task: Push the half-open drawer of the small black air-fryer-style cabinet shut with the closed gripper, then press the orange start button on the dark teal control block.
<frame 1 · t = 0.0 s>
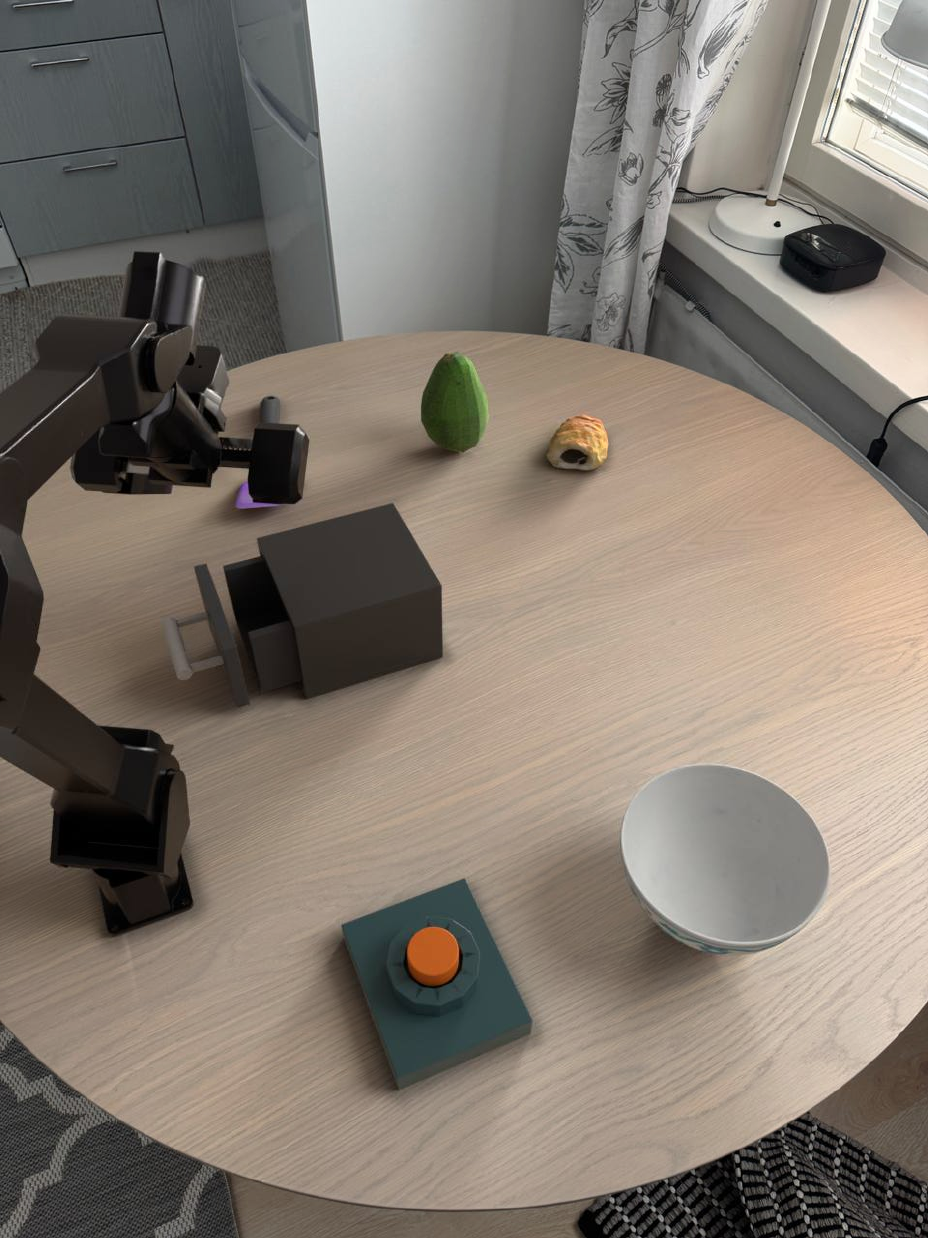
hand: (220, 491, 89), 15 cm above the table, tool tilted 35°, fingers open, 9 cm apart
start button: (433, 956, 70), point 4 cm above the table, slide at 0.1 cm
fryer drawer: (259, 624, 92), point 5 cm above the table, slide at 5.0 cm
fryer: (354, 633, 98), on the table
avocado: (454, 447, 120), on the table
spatula: (271, 459, 118), on the table
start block: (434, 984, 73), on the table
chinaware: (705, 902, 78), on the table
pastry: (577, 454, 119), on the table
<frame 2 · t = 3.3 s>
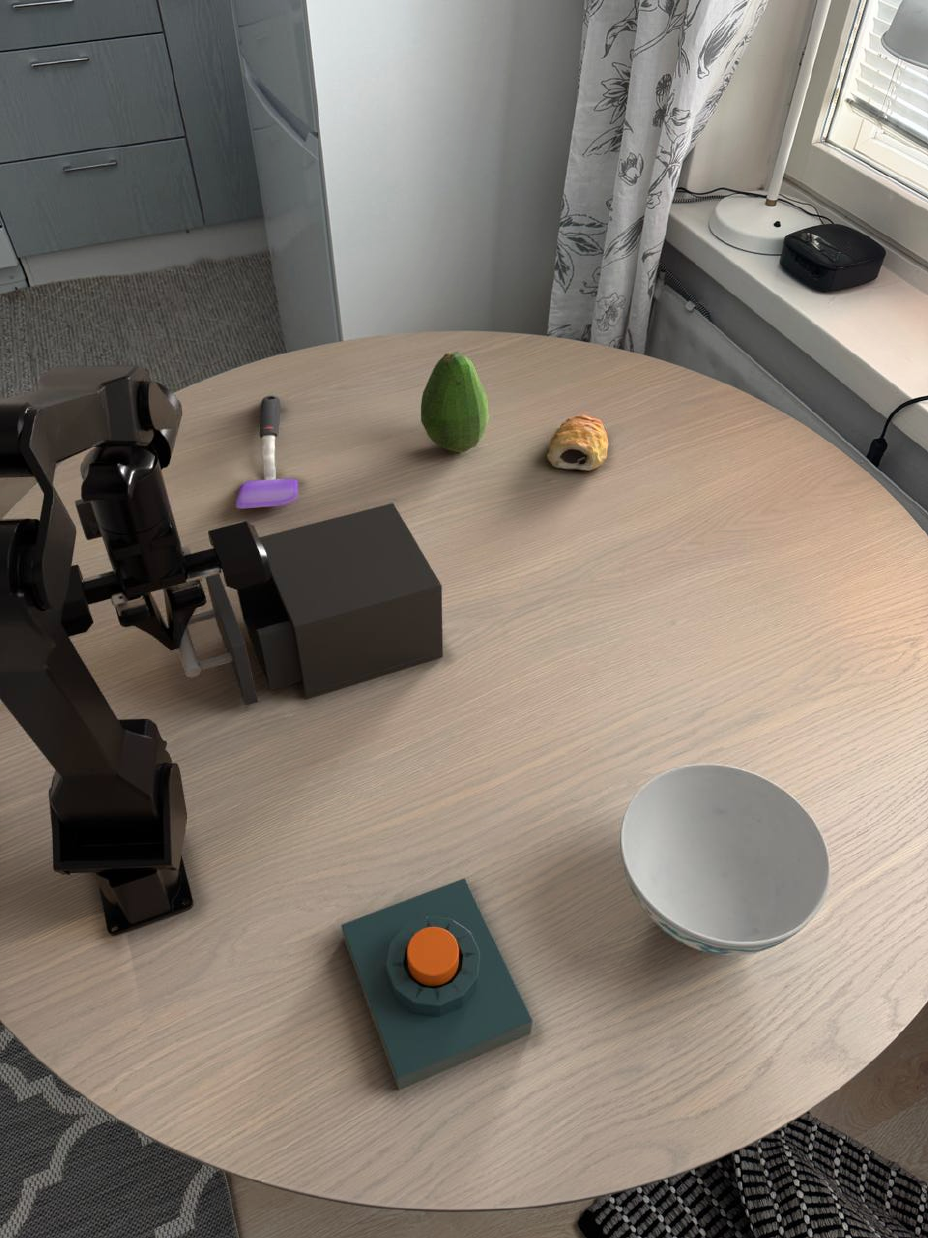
hand: (173, 646, 89), 5 cm above the table, tool pointing down, fingers closed
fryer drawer: (267, 621, 92), point 5 cm above the table, slide at 4.2 cm, touching gripper
everything else where it was.
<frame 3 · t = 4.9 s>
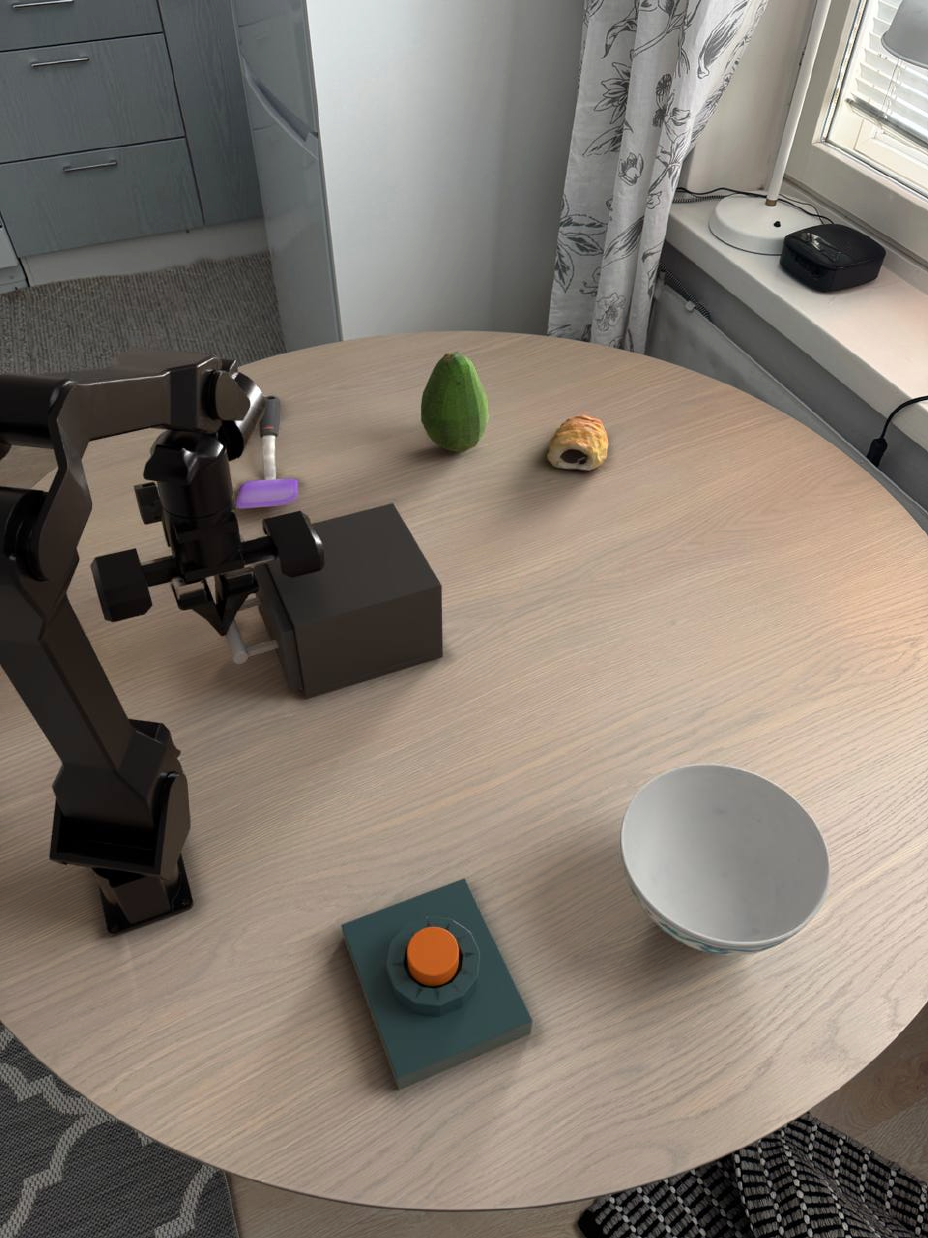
hand: (222, 632, 91), 5 cm above the table, tool pointing down, fingers closed, pressing on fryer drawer
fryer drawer: (311, 609, 93), point 5 cm above the table, slide at 0.0 cm, touching fryer, gripper
everything else where it was.
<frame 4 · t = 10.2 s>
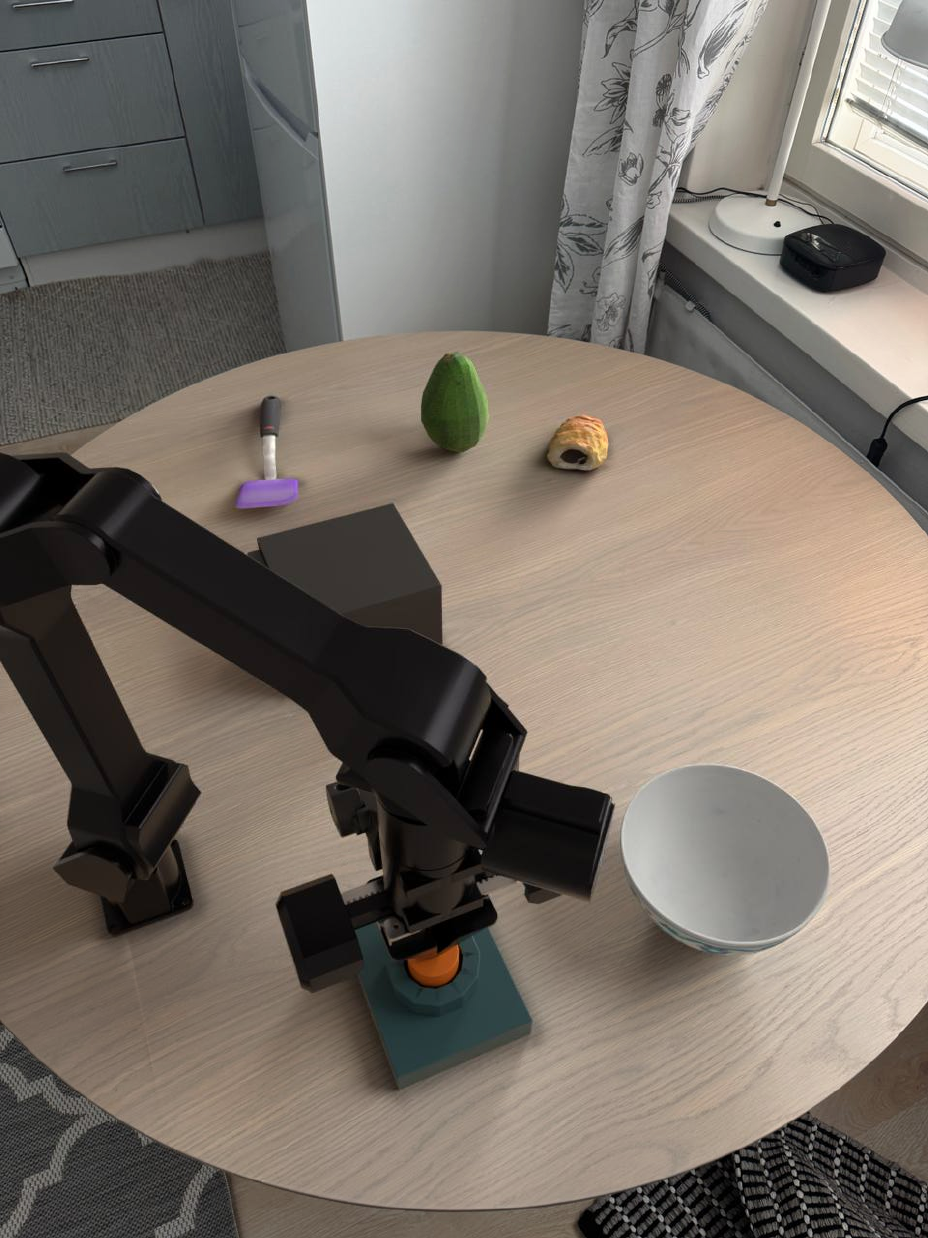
hand: (432, 951, 69), 5 cm above the table, tool pointing down, fingers closed, pressing on start button
start button: (433, 957, 70), point 4 cm above the table, slide at -0.1 cm, touching gripper
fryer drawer: (311, 609, 93), point 5 cm above the table, slide at 0.0 cm
everything else where it was.
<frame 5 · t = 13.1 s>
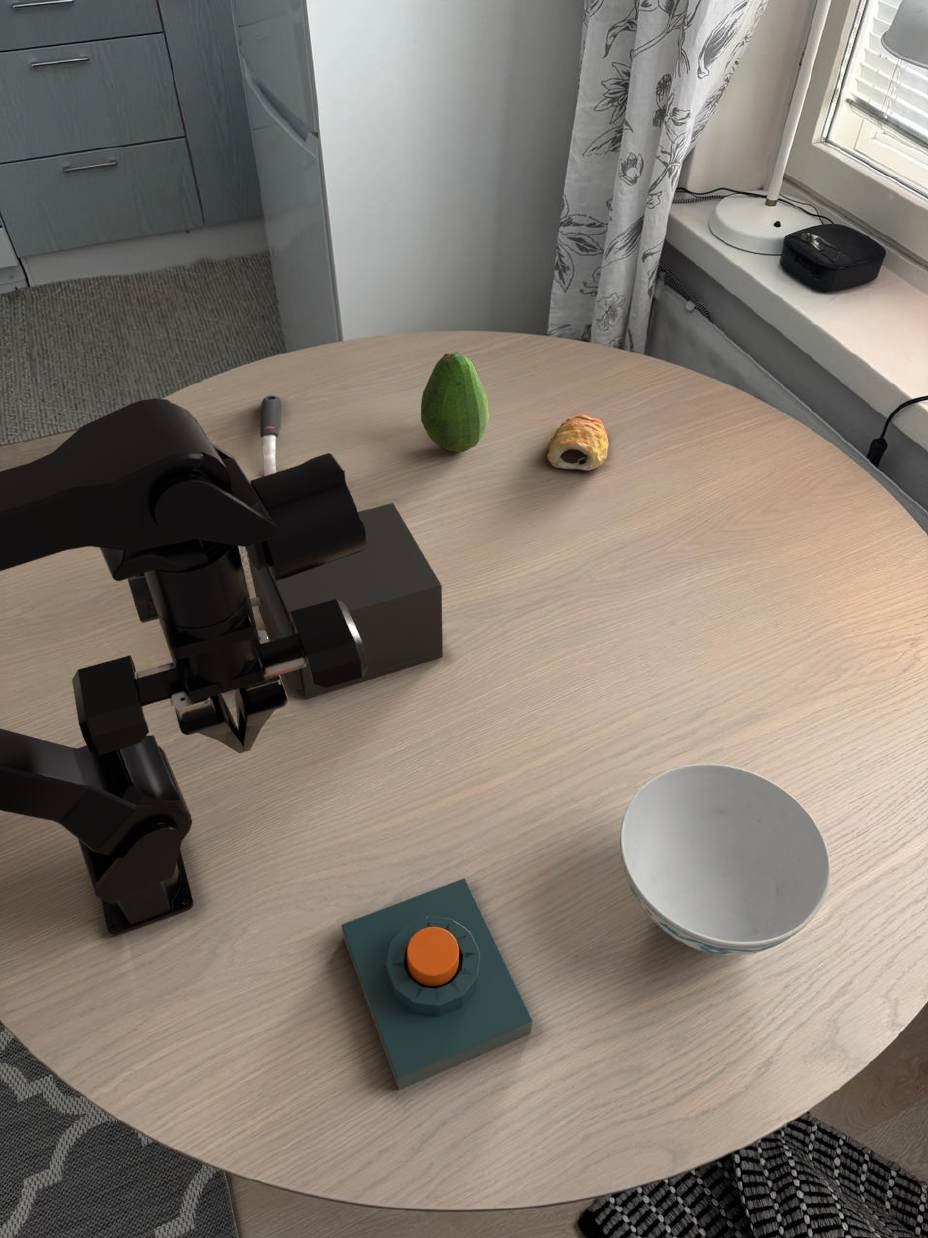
hand: (243, 747, 73), 12 cm above the table, tool pointing down, fingers closed
start button: (433, 956, 70), point 4 cm above the table, slide at 0.1 cm
everything else where it was.
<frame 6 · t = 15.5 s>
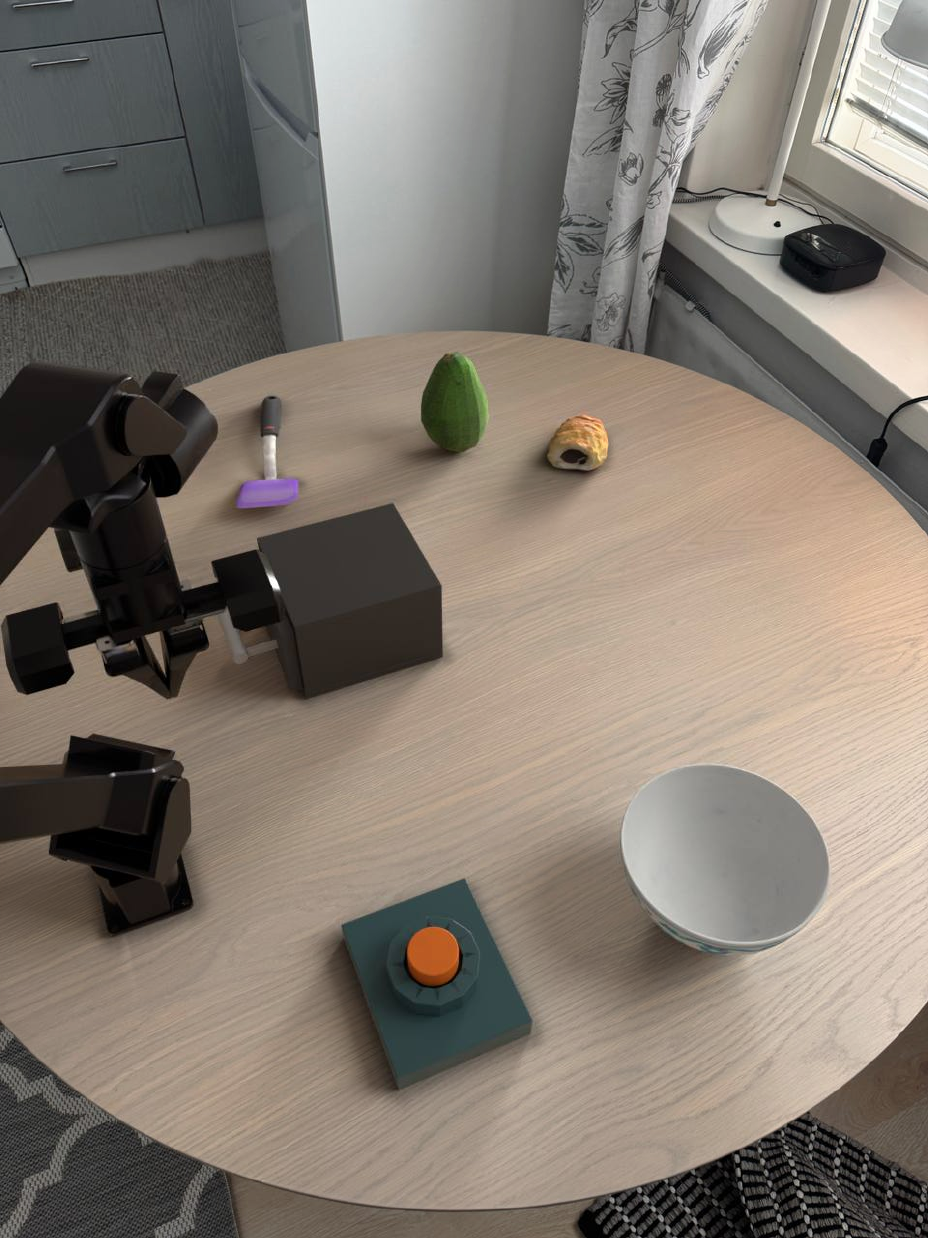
hand: (171, 694, 76), 12 cm above the table, tool pointing down, fingers closed
nothing on the table moved.
at the end: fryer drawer slide at 0.0 cm; start button pushed in 1.1 cm at the most during the clip, back to where it started at the end; start button slide at 0.1 cm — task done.
